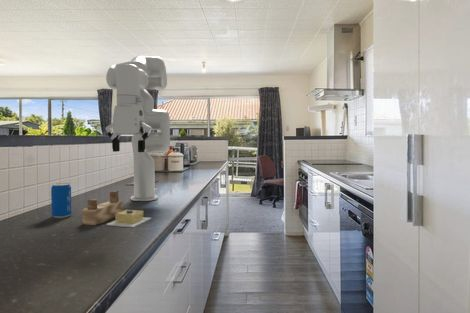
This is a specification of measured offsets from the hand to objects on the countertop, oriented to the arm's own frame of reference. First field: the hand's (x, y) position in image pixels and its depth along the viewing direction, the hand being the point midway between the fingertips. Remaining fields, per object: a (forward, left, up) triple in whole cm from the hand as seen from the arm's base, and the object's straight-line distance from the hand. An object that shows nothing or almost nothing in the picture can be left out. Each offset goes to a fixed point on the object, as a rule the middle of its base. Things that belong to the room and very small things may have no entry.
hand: (128, 151), depth 115 cm
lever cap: (+1, +1, -24) cm, 24 cm away
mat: (+1, +1, -24) cm, 24 cm away
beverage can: (+1, -27, -25) cm, 37 cm away
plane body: (0, -10, -24) cm, 26 cm away
